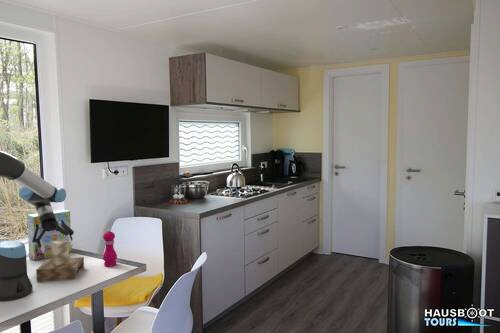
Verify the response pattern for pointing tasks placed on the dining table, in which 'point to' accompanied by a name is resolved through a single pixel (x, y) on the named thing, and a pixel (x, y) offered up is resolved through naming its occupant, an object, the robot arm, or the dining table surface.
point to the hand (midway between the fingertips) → (57, 249)
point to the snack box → (46, 235)
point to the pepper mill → (109, 249)
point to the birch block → (60, 252)
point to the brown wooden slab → (59, 270)
